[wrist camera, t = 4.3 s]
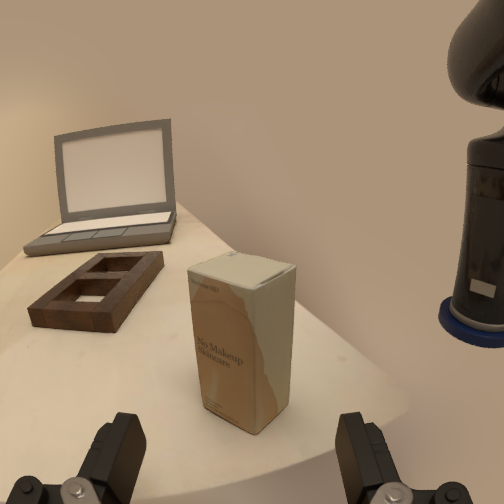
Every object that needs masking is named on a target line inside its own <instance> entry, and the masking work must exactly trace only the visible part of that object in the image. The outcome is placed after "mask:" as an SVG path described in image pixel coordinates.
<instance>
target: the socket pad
mask: <svg viewBox="0 0 504 504" xmlns="http://www.w3.org/2000/svg"><path fill="white" fill-rule="evenodd" d="M163 266H164V260H163V251H150V252H122V253H98V254H97V255H95V256H94V257H93V258H91V259H90V260H89V261H87V262H86V263H84V264H83V265H82V266H80V267H79V268H78V269H76V270H75V271H74V272H72V273H71V274H70V275H68V276H67V277H66V278H65V279H63V280H62V281H61V282H59V283H58V284H57V285H55V286H54V287H53V288H52V289H50V290H49V291H48V292H47V293H45V294H44V295H43V296H42V297H40V298H39V299H38V300H37V301H35V302H34V303H33V304H32V305H30V306H29V307H28V308H27V310H28V313H29V316H30V319H31V322H32V326H37V327H47V328H57V329H68V330H81V331H96V332H112V333H115V332H116V331H117V329H118V328H119V327H120V325H121V324H122V322H123V321H124V319H125V318H126V317H127V315H128V314H129V312H130V311H131V310H132V308H133V307H134V305H135V304H136V303H137V301H138V300H139V299H140V297H141V296H142V294H143V293H144V292H145V290H146V289H147V288H148V286H149V285H150V284H151V282H152V281H153V279H154V278H155V277H156V275H157V274H158V273H159V271H160V270H161V269H162V267H163ZM107 271H129V272H108V273H106V272H107ZM80 295H106V296H105V297H104V298H103V299H102V300H101V302H100V303H99V302H76V301H75V300H76V299H77V298H78V297H79V296H80Z"/></svg>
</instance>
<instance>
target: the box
mask: <svg viewBox="0 0 504 504" xmlns="http://www.w3.org/2000/svg"><path fill="white" fill-rule="evenodd" d="M187 272H188V282H189V293H190V303H191V313H192V322H193V331H194V340H195V348H196V357H197V364H198V372H199V380H200V387H201V394H202V400H203V406H204V407H206V408H207V409H209V410H211V411H212V412H214V413H216V414H217V415H219V416H221V417H222V418H224V419H226V420H228V421H229V422H231V423H233V424H235V425H236V426H238V427H240V428H242V429H244V430H246V431H248V432H249V433H252V434H254V435H256V434H258V433H259V432H260V431H261V430H262V429H263V428H264V427H265V426H266V425H267V424H269V423H270V422H271V421H272V420H273V419H274V418H275V417H276V416H277V415H278V414H279V413H280V412H281V411H282V410H283V409H284V408H285V407H286V405H287V404H288V403H289V391H290V375H291V358H292V343H293V325H294V303H295V281H296V266H295V265H293V264H289V263H284V262H280V261H275V260H271V259H268V258H265V257H261V256H253V255H248V254H243V253H239V252H235V251H231V252H229V253H226V254H223V255H221V256H218V257H216V258H213V259H210V260H208V261H205V262H202V263H199V264H197V265H194V266H192V267H190V268H188V269H187Z"/></svg>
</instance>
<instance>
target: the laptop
mask: <svg viewBox="0 0 504 504" xmlns="http://www.w3.org/2000/svg"><path fill="white" fill-rule="evenodd" d="M54 144H55V162H56V175H57V185H58V195H59V204H60V212H61V219H62V224H60V225H58V226H57V227H55V228H53V229H51V230H50V231H48V232H46V233H45V234H43V235H41V236H40V237H38V238H37V239H35V240H33V241H32V242H30V243H29V244H27V245H25V246H24V247H23V249H24V253H25V254H27V255H29V256H41V255H51V254H61V253H71V252H81V251H91V250H101V249H112V248H123V247H133V246H144V245H156V244H165V243H166V242H167V241H168V240H169V239H170V236H171V233H172V229H173V226H174V222H175V219H176V215H177V213H176V203H175V189H174V175H173V158H172V138H171V119H162V120H153V121H144V122H135V123H128V124H120V125H113V126H107V127H100V128H95V129H89V130H83V131H77V132H72V133H68V134H62V135H57V136H54Z"/></svg>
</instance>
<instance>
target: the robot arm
mask: <svg viewBox="0 0 504 504" xmlns="http://www.w3.org/2000/svg"><path fill="white" fill-rule="evenodd" d="M447 66H448V67H447V69H448V75H449V79H450V82H451V84H452V86H453V88H454V90H455V91H456V93H457V94H458V95H459V96H460V97H461V98H463V99H464V100H465V101H467V102H469V103H472V104H475V105H479V106H484V107H489V108H494V109H499V110H504V0H479V2H478V3H477V4H476V6H475V7H474V8H473V10H472V11H471V12H470V13H469V14H468V16H467V17H466V18H465V19H464V21H463V22H462V23H461V24H460V26H459V27H458V28H457V30H456V32H455V34H454V35H453V38H452V41H451V43H450V47H449V51H448V60H447ZM467 164H469V165H467V182H466V183H467V185H466V202H465V214H464V225H463V234H462V242H461V250H460V257H459V263H458V270H457V276H456V281H455V287H454V291H453V296H452V299H451V302H450V312H451V314H452V315H453V316H454V317H455V318H456V319H457V320H458V321H460V322H461V323H463V324H465V325H466V326H469V327H471V328H474V329H477V330H481V331H486V332H503V331H504V127H503V128H502V129H501V130H499V131H498V132H496V133H494V134H492V135H488V136H484V137H480V138H476V139H473V140H471V141H470V142H469V144H468V148H467ZM335 448H336V453H337V458H338V462H339V466H340V471H341V475H342V479H343V484H344V488H345V492H346V497H347V502H348V504H473V502H472V500H471V497H470V495H469V492H468V490H467V488H466V487H465V486H464V485H462V484H461V483H458V482H447V483H444V484H442V485H441V486H440V487H439V488H438V489H437V490H414V489H411V488H409V487H408V486H407V485H405V484H403V483H402V481H401V480H400V478H399V475H398V473H397V470H396V467H395V465H394V462H393V459H392V457H391V454H390V451H389V450H388V447H387V444H386V443H385V439H384V436H383V433H382V431H381V430H380V429H379V428H378V427H377V426H376V425H375V424H374V423H373V422H372V423H366V424H364V421H363V418H362V415H361V413H360V412H354V413H346V414H341V415H340V418H339V423H338V428H337V433H336V438H335ZM145 451H146V437H145V435H144V432H143V429H142V427H141V424H140V421H139V419H138V416H137V415H136V414H129V413H121V412H118V413H117V414H116V416H115V419H114V421H113V423H106V424H105V425H103V426H102V427H101V428H100V429H99V430H98V432H97V434H96V436H95V438H94V441H93V443H92V445H91V449H89V451H88V453H87V455H86V457H85V460H84V462H83V464H82V466H81V468H80V471H79V473H78V475H77V476H76V477H73V478H70V479H68V480H66V481H65V482H64V483H63V484H62V485H49V484H42V483H41V482H40V481H39V480H38V479H37V478H36V477H33V476H23V477H21V478H19V479H18V480H17V481H16V483H15V484H14V487H13V489H12V491H11V493H10V495H9V497H8V499H7V502H6V504H129V503H130V500H131V497H132V494H133V490H134V487H135V484H136V480H137V477H138V474H139V471H140V467H141V464H142V461H143V458H144V455H145Z"/></svg>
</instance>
